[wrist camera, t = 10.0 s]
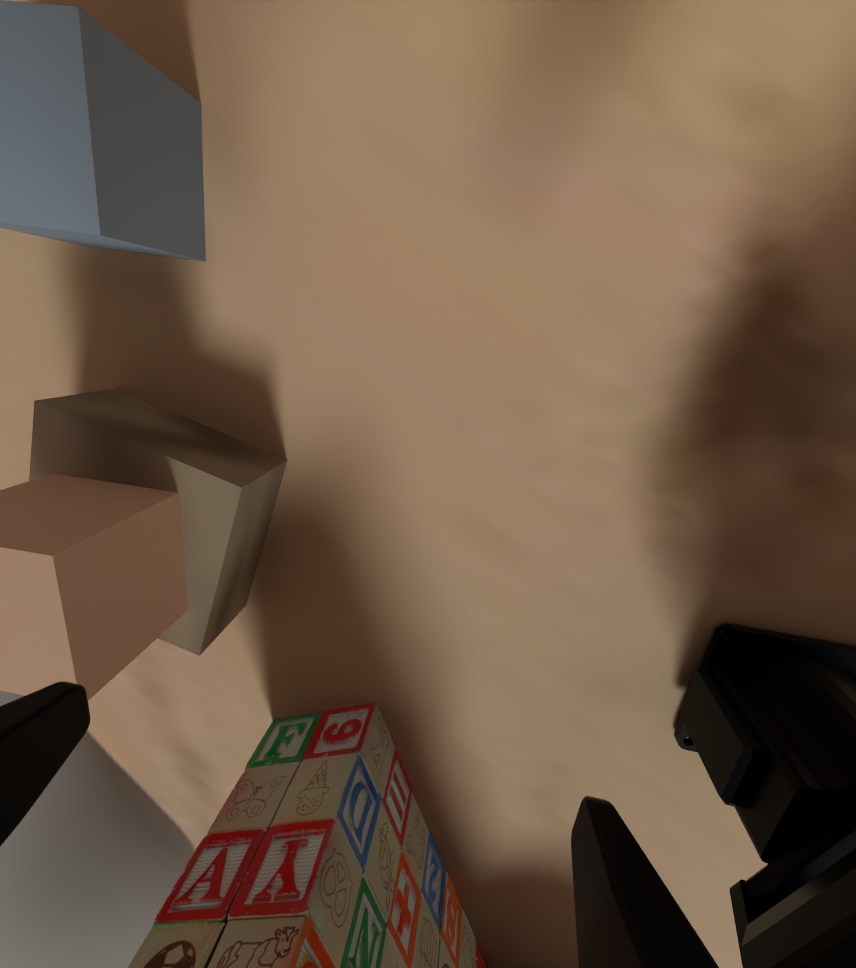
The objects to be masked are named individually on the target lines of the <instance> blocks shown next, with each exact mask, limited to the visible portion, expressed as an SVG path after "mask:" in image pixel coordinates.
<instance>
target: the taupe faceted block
mask: <svg viewBox="0 0 856 968" xmlns="http://www.w3.org/2000/svg"><path fill="white" fill-rule="evenodd" d="M286 463H287V460H285V459H283V458H280V457H278V456H275V455H273V454H271V453H268V452H266V451H263V450H261V449H259V448H256V447H254V446H251V445H249V444H247V443H244V442H242V441H239V440H237V439H235V438H232V437H230V436H227V435H225V434H223V433H220V432H218V431H215V430H213V429H211V428H208V427H206V426H203V425H201V424H199V423H196V422H194V421H192V420H189V419H187V418H184V417H182V416H180V415H177V414H175V413H172V412H170V411H168V410H165V409H163V408H160V407H158V406H156V405H153V404H151V403H148V402H146V401H144V400H141V399H139V398H136V397H134V396H132V395H129V394H127V393H124V392H122V391H120V390H117V389H112V390H105V391H98V392H91V393H84V394H77V395H71V396H64V397H57V398H50V399H43V400H36V401H35V403H34V417H33V432H32V447H31V462H30V477H29V481H32V480H35V479H38V478H41V477H44V476H48V475H51V474H59V475H65V476H72V477H79V478H85V479H92V480H99V481H105V482H112V483H119V484H125V485H132V486H138V487H145V488H151V489H158V490H164V491H171V492H177V493H178V495H179V507H180V519H181V530H182V542H183V554H184V566H185V578H186V590H187V602H188V611H187V612H186V613H184V614H183V615H182V616H181V617H180V618H179V619H178V620H177V621H176V622H174V623H173V624H172V625H171V626H170V627H169V628H168V629H167V630H166V631H165V632H163V633H162V634H161V635H160V636H159V637H158V638H159V639H161V640H164V641H166V642H168V643H171V644H173V645H175V646H178V647H180V648H182V649H185V650H187V651H189V652H192V653H194V654H197V655H199V656H200V655H201V654H202V653H203V651H204V650H205V649H206V648H207V647H208V646H209V645H210V644H211V643H212V642H213V641H214V640H215V638H216V637H217V636H218V635H219V634H220V633H221V632H222V631H223V630H224V629H225V628H226V626H227V625H228V624H229V623H230V622H231V621H232V620H233V619H234V618H235V617H236V616H237V615H238V613H239V612H240V611H241V610H242V609H243V608H244V607H245V606H246V603H247V599H248V596H249V592H250V589H251V585H252V582H253V578H254V575H255V571H256V568H257V564H258V561H259V557H260V554H261V550H262V547H263V543H264V540H265V536H266V533H267V529H268V526H269V522H270V519H271V515H272V512H273V508H274V505H275V501H276V498H277V494H278V491H279V487H280V484H281V480H282V477H283V473H284V470H285V466H286Z"/></svg>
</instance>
